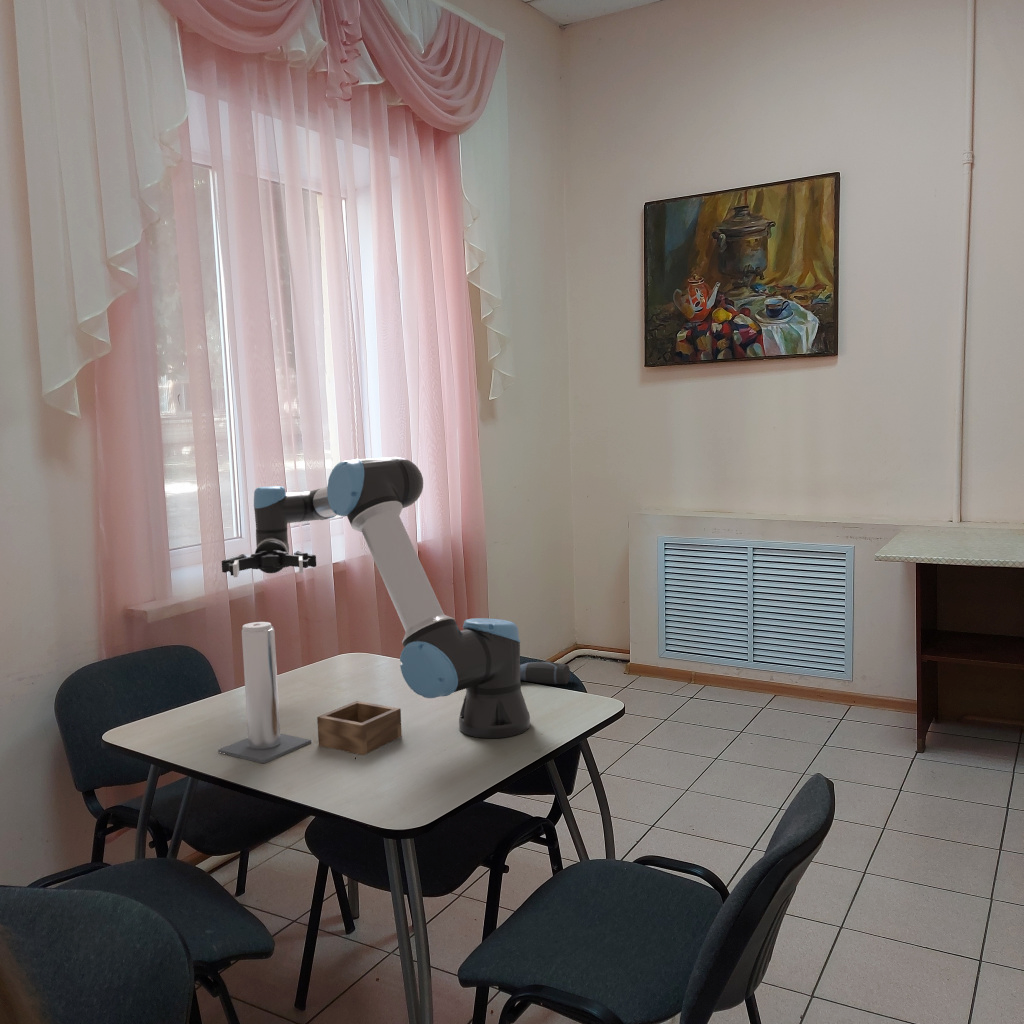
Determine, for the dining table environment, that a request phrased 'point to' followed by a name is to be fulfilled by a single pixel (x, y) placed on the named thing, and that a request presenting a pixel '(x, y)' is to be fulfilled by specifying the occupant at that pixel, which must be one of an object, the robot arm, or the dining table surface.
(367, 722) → the square wooden frame
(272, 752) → the mat
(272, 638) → the shiny metal cylinder
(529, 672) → the power drill
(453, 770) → the dining table surface
